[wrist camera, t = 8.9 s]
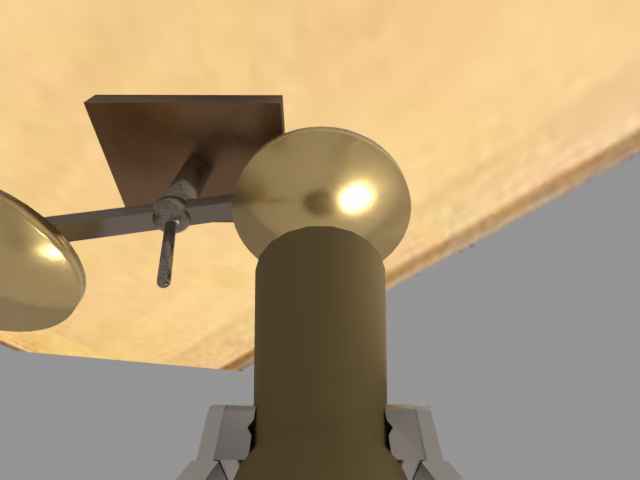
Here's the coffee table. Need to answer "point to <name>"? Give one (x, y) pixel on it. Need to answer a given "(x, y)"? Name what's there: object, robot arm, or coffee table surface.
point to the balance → (199, 191)
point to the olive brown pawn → (320, 360)
